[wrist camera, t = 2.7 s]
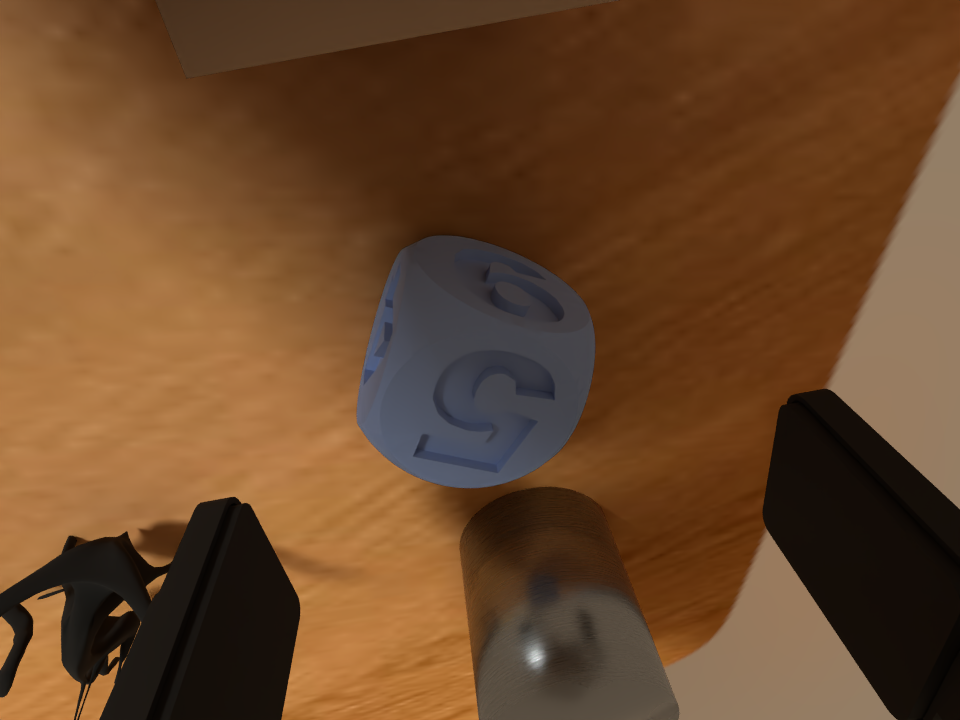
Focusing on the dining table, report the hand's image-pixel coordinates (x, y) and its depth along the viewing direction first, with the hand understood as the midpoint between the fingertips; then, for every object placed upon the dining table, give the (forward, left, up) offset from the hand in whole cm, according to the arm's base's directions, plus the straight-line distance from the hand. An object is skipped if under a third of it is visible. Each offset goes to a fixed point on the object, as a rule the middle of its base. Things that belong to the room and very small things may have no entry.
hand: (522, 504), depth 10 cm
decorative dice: (-1, 0, -6) cm, 6 cm away
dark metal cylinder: (+8, +1, -5) cm, 10 cm away
